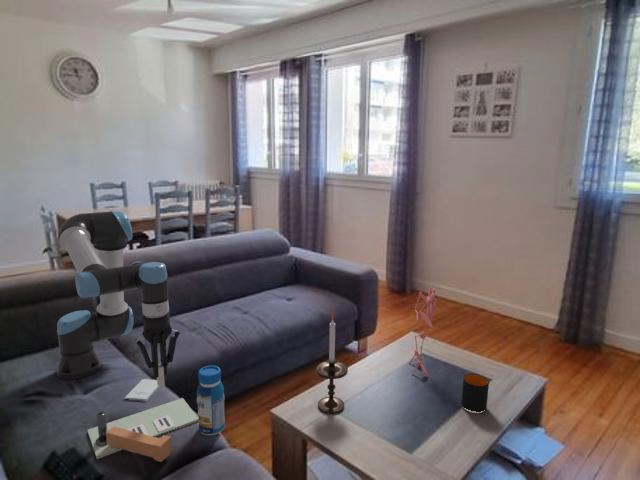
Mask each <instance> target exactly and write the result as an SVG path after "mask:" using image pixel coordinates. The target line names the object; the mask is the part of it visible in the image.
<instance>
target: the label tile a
mask: <svg viewBox="0 0 640 480" xmlns="http://www.w3.org/2000/svg"><path fill="white" fill-rule="evenodd" d="M127 430H130V431H134V432H137V433H141V434H145V435H148V433H147V431H146V429H145V427H144V425H143V424H141V425H138V426H135V427H132V428H130V429H127Z"/></svg>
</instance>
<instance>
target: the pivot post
mask: <svg viewBox="0 0 640 480" xmlns="http://www.w3.org/2000/svg"><path fill="white" fill-rule="evenodd" d="M96 423H97V426H98V434H99V438H97V439H96V445H97V446H105V445H107V437H106V432H107V423H108V422H107V414H106V412H105V411H101V412H98V413H97V414H96Z"/></svg>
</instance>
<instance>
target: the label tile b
mask: <svg viewBox="0 0 640 480" xmlns="http://www.w3.org/2000/svg"><path fill="white" fill-rule="evenodd" d="M152 421H153V423H154V425H155V426H156V428H157V430H158V432H162V431H165V430H167V429H170V428H173V427H175V425H174V423H173V422H172V420H171V419H170V417H169V416H168V415H167V416H164V417H161V418H158V419H155V420H152Z"/></svg>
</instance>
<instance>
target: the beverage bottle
mask: <svg viewBox="0 0 640 480" xmlns="http://www.w3.org/2000/svg"><path fill="white" fill-rule="evenodd" d="M197 376H198V383H199V384H198V386H197V388H196V389H197V390H196V395H197V396H196V403H197V414H198V415H197V417H198V418H199V421H198V431H199V432H200V433H201V434H202V435H204V436H215V435H218V434H220V433H221V432H222V431H223V430H224V429H225V428H226V420H225V399H226V398H225V393H224V391H225V387H224V385H223V383H222V381H221V380H222V370H221V368H220V367H219V366H217V365H206V366H203V367H201V368H200V369H199V370H198V374H197Z"/></svg>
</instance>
